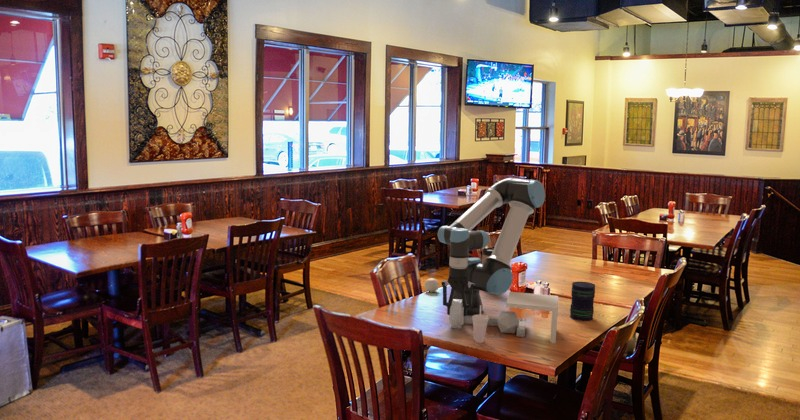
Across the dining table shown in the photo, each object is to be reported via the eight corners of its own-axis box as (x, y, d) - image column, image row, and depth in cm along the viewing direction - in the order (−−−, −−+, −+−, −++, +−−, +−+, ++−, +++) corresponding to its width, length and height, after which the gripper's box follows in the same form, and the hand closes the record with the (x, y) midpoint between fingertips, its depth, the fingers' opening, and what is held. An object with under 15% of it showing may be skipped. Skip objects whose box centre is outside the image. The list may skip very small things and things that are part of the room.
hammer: (449, 330, 274) (450, 303, 273) (454, 320, 288) (455, 294, 286) (524, 337, 268) (525, 309, 266) (525, 326, 281) (527, 300, 280)
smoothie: (486, 338, 266) (488, 303, 264) (488, 344, 259) (490, 308, 257) (469, 338, 265) (471, 303, 263) (472, 343, 259) (473, 308, 257)
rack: (504, 337, 267) (506, 303, 265) (508, 324, 284) (509, 291, 282) (555, 343, 263) (557, 307, 261) (556, 329, 280) (558, 295, 278)
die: (511, 338, 269) (525, 317, 270) (492, 325, 270) (506, 304, 272) (509, 339, 277) (523, 318, 278) (491, 326, 278) (504, 306, 280)
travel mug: (478, 287, 344) (480, 248, 341) (492, 286, 346) (494, 247, 343) (484, 291, 337) (486, 251, 334) (498, 290, 339) (500, 250, 336)
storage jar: (566, 314, 302) (568, 281, 299) (588, 314, 302) (590, 281, 300) (573, 321, 292) (576, 287, 290) (596, 321, 292) (598, 287, 290)
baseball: (441, 291, 333) (442, 278, 332) (431, 294, 328) (432, 280, 327) (431, 289, 338) (432, 275, 337) (421, 291, 333) (421, 278, 332)
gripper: (436, 267, 274) (434, 323, 277) (478, 270, 270) (476, 327, 274) (439, 263, 281) (437, 318, 284) (480, 266, 278) (478, 322, 281)
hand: (456, 322), depth 279 cm, fingers closed on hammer, 4 cm apart
